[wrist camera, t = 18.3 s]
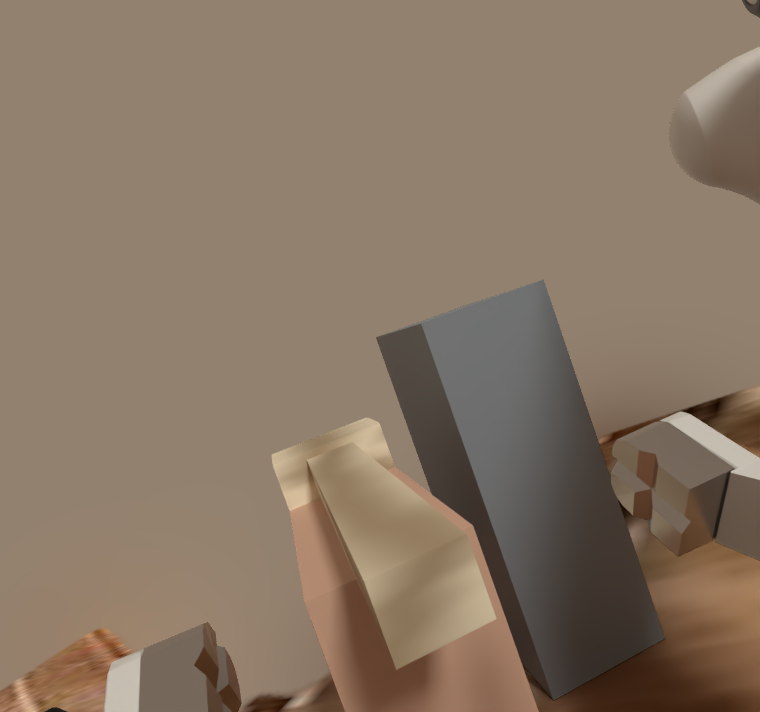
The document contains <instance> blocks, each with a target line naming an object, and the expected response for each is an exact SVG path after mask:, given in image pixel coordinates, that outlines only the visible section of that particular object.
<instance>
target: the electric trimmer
mask: <svg viewBox="0 0 760 712" xmlns="http://www.w3.org/2000/svg"><path fill="white" fill-rule="evenodd" d="M46 712H66V711H64V710H62V709H60V708H51V709H49V710H47V711H46Z"/></svg>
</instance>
